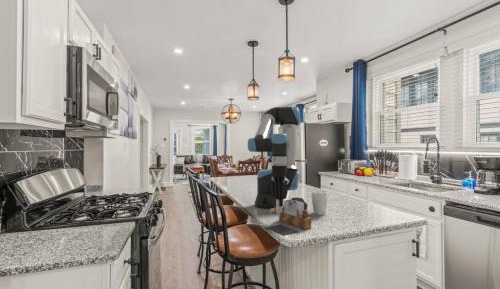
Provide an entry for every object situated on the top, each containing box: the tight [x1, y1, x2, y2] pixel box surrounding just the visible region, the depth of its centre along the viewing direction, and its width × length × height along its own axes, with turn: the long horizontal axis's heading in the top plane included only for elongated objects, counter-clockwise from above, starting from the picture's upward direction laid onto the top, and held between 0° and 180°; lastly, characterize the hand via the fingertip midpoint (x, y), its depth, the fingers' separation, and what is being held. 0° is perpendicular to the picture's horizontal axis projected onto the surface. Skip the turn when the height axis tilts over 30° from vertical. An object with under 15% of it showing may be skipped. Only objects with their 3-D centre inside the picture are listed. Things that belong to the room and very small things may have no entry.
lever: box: [269, 206, 284, 214], centre depth 132 cm, size 2×8×2 cm, turn 125°
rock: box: [290, 197, 308, 211], centre depth 145 cm, size 14×11×10 cm
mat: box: [266, 223, 298, 236], centre depth 121 cm, size 12×8×1 cm, turn 35°
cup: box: [311, 190, 329, 216], centre depth 150 cm, size 9×9×12 cm
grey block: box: [283, 199, 304, 217], centre depth 130 cm, size 9×5×7 cm, turn 35°
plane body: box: [278, 204, 312, 230], centre depth 130 cm, size 18×4×8 cm, turn 35°
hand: (279, 212), depth 130 cm, fingers closed
